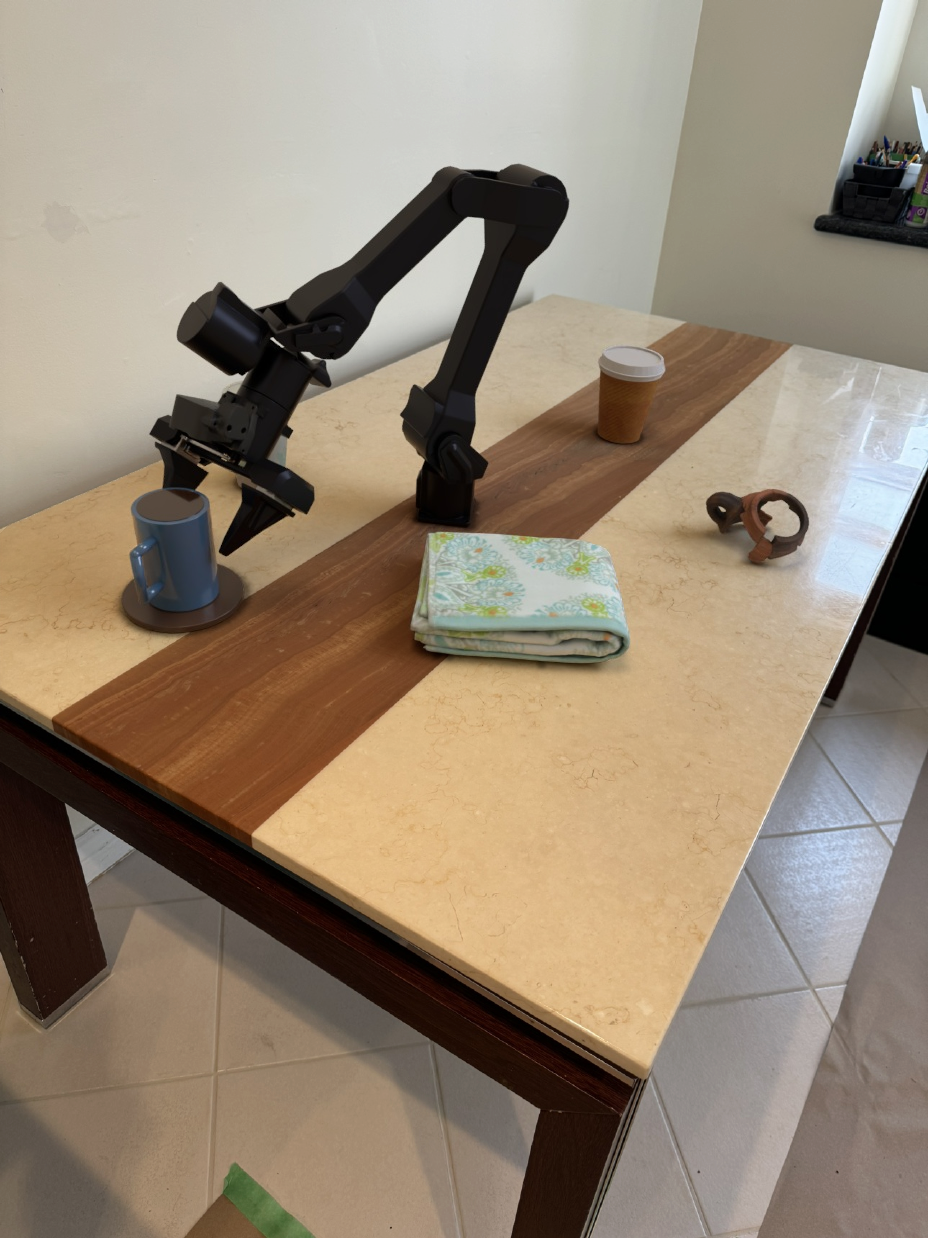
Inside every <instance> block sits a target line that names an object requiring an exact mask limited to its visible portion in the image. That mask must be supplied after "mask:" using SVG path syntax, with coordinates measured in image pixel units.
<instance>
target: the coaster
mask: <svg viewBox="0 0 928 1238" xmlns="http://www.w3.org/2000/svg"><path fill="white" fill-rule="evenodd" d="M217 569H218V578H219V586H220V591H219V594H218V595H217V597H216V598H215V599H214V600H213V601H212V602H210V603H209V604H207V605H205V606H203V607H201V608H198V609H195V610H190V611H183V612H172V611H166V610H162V609H159V608H157V607H155V606H153V605H152V604H151V603H150V602H148V603H147V604H145V605H142V604H140V603H139V602H138V598H137V593H136V588H135V582H134V578H132V579H131V580H130V581H129V582H128V583H127V585H126V586H125V587H124V589H123V591H122V594H121V607H122V609H123V613H124V614H125V616H126V617H127V618H128V619H129V620H130V621H131V622H132V623H134V624H136V625H138V626H139V627H141V628H143V629H146V630H150V631H154V632H160V633H169V634H175V633H177V634H179V633H189V632H195V631H200V630H204V629H207V628H210V627H213V626H215V625H218V624H220V623H222V622H224V621H225V620H227V619H229V618H230V617H231V616H233V615H234V614H235V613H236V612H237V611H238V610H239V608H240V607H241V606H242V604H243V601H244V599H245V598H244V597H245V585H244V583H243V580H242V578H241V577H240V576H239V575H238V573H236V572H235V571H233V570H232V569H230V568H228V567H227V566H224V565H221V564H219V563H217Z"/></svg>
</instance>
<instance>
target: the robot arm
mask: <svg viewBox="0 0 928 1238" xmlns="http://www.w3.org/2000/svg"><path fill="white" fill-rule="evenodd" d="M569 208H570V198H569V197H568V192H567V188H566V186H565V185H564V183H563V181H562V180H561V179H559V178H558V177H557V176H556V175H553V174H550V173H547V172H544V171H542V170H539V169H537V168H534V167H531V166H529V165H527V164H522V163H514V164H512V163H511V164H509V165H507V166H506V167H504V168H502V169H500V170H499V171H498V170H491V169H481V168H476V169H475V168H471V169H470V168H469V169H468V168H467V169H466V168H465V169H464V168H459V167H456V166H451V165H448V166H444V167H442V168H440V169H439V170H437V171H436V172H435V173H434V175H433V176H432V177H431V181H430V182H429V183H428V184H427V185H426V186H424V188H422V190H421V191H419V192H418V194H416V195H415V196H414V198H412V199H411V200H410V201H409V202H408V203H407V204H406V205H405V206H404V207H403V208H402V209H400V211H399V212H398V213H397V214H396V215H394V217H393V218H391V219H390V220H389V222H387V224H385V225H384V226H383V227H382V228H381V229H380V230H379V231H378V232H377V233H376V234H375V235H374V236H372V238H371V239H370V240H368V241H367V243H365V244H364V246H363V247H361V249H360V250H358V251H357V252H356V253H355V254H354V255H353V256H352V257H351V258H350V259H348V260H347V261H346V262H344V263H343V264H341V265H339V266H336V267H333V268H331V269H329V270H326V271H323V272H321V273H319V274H318V275H316V276H314V277H313V278H311V279H310V280H309V281H307V282H305V283H304V284H303V285H301V286H299V288H297V289H295V290H294V291H293V292H292V293H291V294H290V296H289V297H288V298H286V299H284V300H279V301H276V302H273V303H270V304H266V305H263V306H259V307H256V308H252V307H251V306H249V305H248V304H247V303H246V302H244V301H243V300H242V299H241V298H240V297H239V296H238V295H237V294H236V293H235V292H234V291H233V290H232V289H231V288H230V287H229V286H228V285H226V284H225V283H224V282H223V281H218V282H217V283H216V284H215V286H214V287H213V289H212V290H209V291H207V292H205V293H203V294H202V295H200V296H199V298H197V299H196V300H195V301H192V302H190V303H189V305H188V307H187V308H186V309H185V310H184V313H183V315H182V316H181V319H180V321H179V323H178V325H177V329H176V340H177V342H178V343H180V344H182V345H183V346H185V348H187V349H189V350H190V351H191V352H193V353H194V354H196V355H197V356H198V357H200V358H202V359H203V360H204V361H206V362H207V363H209V364H210V365H212V366H213V367H214V368H216V369H217V370H219V371H220V372H222V373H223V374H224V375H226V376H228V377H233V376H235V375H239V376H241V377H244V375H245V377H244V379H243V380H242V381H243V382H242V384H241V386H240V388H239V389H238V391H237V393H236V394H235V393H232V392H230V391H228V390H227V392H226V393H224V394H223V395H222V394H221V395H222V396H221V395H220V398H219V400H218V401H213V400H210V399H206V398H200V397H195V396H189V395H183V394H180V393H179V394H178V393H177V394H176V395H175V399H174V403H173V408H172V411H171V415H170V414H166V415H163V416H161V417H157V419H156V421H155V422H154V424H153V426H152V428H151V429H150V431H149V433H148V435H149V436H150V437H152V438H153V439H155V440H156V441H154V448H155V449H157V450H158V451H159V453H160V457H161V459H162V462H163V477H162V478H163V480H162V487H161V489H163V488H188V489H193V490H196V491H197V489H198V487H200V485H201V484H202V482H203V481H204V480H205V479H206V478H207V477H208V475H209V474H210V473H209V471H208V470H206V469H204V468H203V467H207V466H209V465H211V464H214V465H217V466H219V467H221V468H223V469H225V470H227V471H229V472H231V473H233V474H235V475H236V474H238V475H240V476H242V477H244V478H246V479H248V480H250V481H251V482H252V483H254V484H255V485H257V486H256V488H253V487H251V486H249V485H246V484H244V483H242V484H241V487H240V488H241V490H240V491H241V503H240V505H239V507H238V509H237V510H236V513H235V514H234V516H233V518H232V521H231V522H230V525H229V527H227V528H228V529H227V531H226V533H225V535H224V536H223V539H222V541H221V544H220V546H219V548H218V554H220V555H221V556H224V557H230V555H232V554H233V553H235V552H237V550H239V549H240V548H241V547H242V546H244V545H246V544H247V543H248V542H250V541H251V540H252V539H254V538H255V537H256V536H258V535H260V534H261V533H263V532H264V531H265V530H267V529H269V528H270V527H272V526H274V525H275V524H277V523H279V522H280V521H282V520H284V519H285V518H287V517H289V518H291V519H292V518H294V517H295V516H296V514H297V513H296V512H294V511H293V510H296V511H298V512H299V513H301V514H304V515H306V516H307V515H308V514H309V512H310V510H311V508H312V507H313V504H314V503H315V501H316V497H315V496H316V495H315V493H316V492H315V486H314V485H313V484H311V483H310V482H309V481H307V480H306V479H305V478H303V477H301V476H300V475H299V474H297V473H296V472H295V471H293V470H292V469H290V468H288V467H287V466H285V467H284V466H282V465H280V464H277V463H275V462H273V461H271V460H268V458H269V457H270V455H271V453H272V451H273V449H274V447H275V446H276V444H277V442H278V440H279V438H280V436H283V437H286V438H287V440H290V438H291V436H292V434H293V432H294V429H293V428H291V427H290V426H289V422H290V420H291V418H292V416H293V414H294V412H295V410H296V408H297V407H298V405H299V403H300V401H301V399H302V398H303V396H304V394H305V392H306V390H307V388H308V386H309V385H310V386H311V385H312V386H317V387H320V388H321V387H322V388H327V389H329V388H331V387H332V385H333V384H332V380H331V377H330V374H329V371H328V369H327V361H326V360H330V361H331V360H333V361H336V360H339V359H342V357H345V356H346V355H347V354H348V353H349V352H350V351H351V350H352V349H353V348H354V346H355V345H356V344H357V343H358V341H359V340H360V339H361V337H362V336H363V334H364V333H365V332H366V331H367V329H368V328H369V326H370V324H371V322H372V319H373V317H374V314H375V311H376V309H377V307H378V306H379V304H380V302H381V301H382V300H383V299H384V297H386V296H387V295H388V293H390V292H391V290H392V289H393V288H394V287H396V285H398V284H399V283H400V282H401V281H402V280H403V279H404V278H405V277H406V276H407V275H408V274H409V273H410V272H411V271H413V270H414V269H415V268H416V267H417V266H418V264H419V263H420V262H422V261H423V260H424V259H425V258H426V257H427V256H428V255H429V254H430V253H431V252H432V251H433V250H434V249H435V248H436V247H437V246H438V245H439V244H440V243H441V242H442V241H444V240H445V238H446V237H448V236H449V235H450V234H451V233H452V232H453V231H454V230H455V229H456V228H457V227H458V226H459V225H460V224H461V223H462V222H463V221H464V220H465V219H467V218H475V219H483V229H484V230H483V235H484V237H483V239H484V242H483V243H484V247H483V253H482V254H481V257H480V260H479V263H478V265H477V267H476V270H475V273H474V276H473V278H472V281H471V284H470V286H469V289H468V291H467V294H466V296H465V299H464V302H463V305H462V307H461V310H460V313H459V315H458V318H457V320H456V323H455V326H454V329H453V331H452V333H451V336H450V339H449V341H448V344H447V345H446V346H447V347H446V349H445V351H444V354H443V356H442V359H441V362H440V363H439V367H438V370H437V373H436V374H435V376H434V377H433V378H432V379H431V380H430V381H429V382H428V383H427V384H425V386H424V387H422V386H419V385H418V384H415V383H414V384H412V386H411V387H410V390H409V395H408V398H407V402H406V405H405V407H404V408H403V409H402V410H401V412H400V413H399V416H400V417H401V418H402V419H403V420H402V424H401V431H402V433H403V437H404V438H405V440H406V441H407V442H408V443H409V445H411V447H412V448H414V450H415V452H416V454H417V455H418V456H419V457H421V458H422V459H423V460H424V461H423V464H422V466H421V469H420V470H419V471H418V474H417V476H416V480H415V483H416V484H415V503H414V504H415V505H414V507H415V509H417V510H418V511H417V514H416V520H417V521H419V522H427V523H436V524H444V525H452V526H461V527H470V526H471V522H472V518H473V514H474V509H475V505H476V498H474V497H475V486H476V480H481V479H483V478H484V475H485V473H486V471H487V469H488V466H489V461H488V460H487V459H486V458H485V457H484V456H483V455H481V454H480V452H478V451H477V450H476V449H475V448H474V447H473V446H472V441H473V437H474V434H475V430H476V426H477V414H476V413H477V411H476V410H477V408H476V407H477V406H476V395H477V392H478V388H479V387H480V384H481V381H482V378H483V377H484V374H485V371H486V369H487V366H488V364H489V362H490V359H491V357H492V355H493V352H494V349H495V347H496V344H497V342H498V339H499V337H500V334H501V333H502V330H503V327H504V326H505V322H506V320H507V318H508V315H509V312H510V310H511V308H512V305H513V302H514V301H515V297H516V295H517V293H518V290H519V288H520V286H521V283H522V281H523V278H524V276H525V273H526V271H527V269H528V268H529V267H530V266H531V264H533V263H534V262H535V261H536V260H537V259H538V258H539V257H541V256H542V254H543V253H545V252H546V250H548V249H549V248H550V246H551V244H552V243H553V241H554V239H555V237H556V236H557V235H558V232H559V230H560V229H561V227H562V226H563V223H564V222H565V220H566V218H567V216H568V212H569ZM273 339H274V340H275V341H274V340H273ZM279 344H280V345H279ZM305 353H310V354H311V355H312V356H313V357H315V358H312V359H310V358H309V357H308V356H306V354H305ZM287 424H288V425H287ZM240 461H243V462H245V463H246V464H245V466H244V467H243V466H241V465H239V463H240ZM199 465H201V466H203V467H201V466H199Z"/></svg>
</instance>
